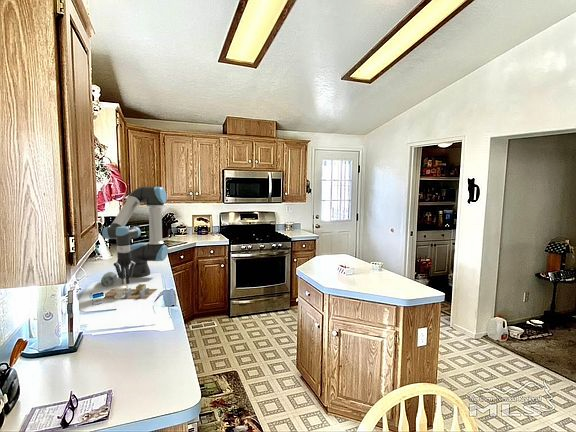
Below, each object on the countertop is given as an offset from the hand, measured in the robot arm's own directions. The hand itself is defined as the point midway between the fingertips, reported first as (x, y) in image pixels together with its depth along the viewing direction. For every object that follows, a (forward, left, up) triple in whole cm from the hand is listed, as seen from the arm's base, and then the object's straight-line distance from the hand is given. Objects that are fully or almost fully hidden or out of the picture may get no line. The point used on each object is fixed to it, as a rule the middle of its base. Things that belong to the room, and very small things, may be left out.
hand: (126, 288), depth 218 cm
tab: (+1, +9, -2) cm, 10 cm away
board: (+4, +3, -3) cm, 6 cm away
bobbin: (+10, +1, -2) cm, 10 cm away
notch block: (+8, +10, -2) cm, 12 cm away
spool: (-17, -19, -3) cm, 26 cm away
